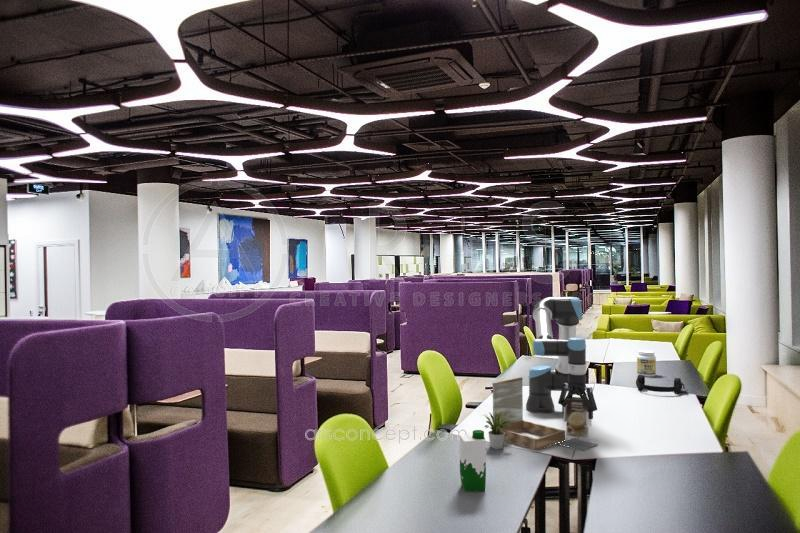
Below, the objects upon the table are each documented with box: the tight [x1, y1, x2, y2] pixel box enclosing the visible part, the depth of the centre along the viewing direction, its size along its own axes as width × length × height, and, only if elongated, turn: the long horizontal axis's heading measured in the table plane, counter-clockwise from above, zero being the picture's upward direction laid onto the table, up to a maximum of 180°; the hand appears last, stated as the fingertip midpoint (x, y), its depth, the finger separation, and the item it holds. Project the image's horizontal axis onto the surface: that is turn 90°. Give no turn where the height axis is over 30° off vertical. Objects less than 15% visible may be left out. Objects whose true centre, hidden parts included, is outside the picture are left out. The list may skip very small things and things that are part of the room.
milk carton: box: [459, 429, 487, 493], centre depth 206 cm, size 9×9×20 cm
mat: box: [557, 437, 598, 452], centre depth 254 cm, size 12×12×1 cm
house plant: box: [482, 411, 515, 450], centre depth 251 cm, size 14×14×16 cm
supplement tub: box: [636, 350, 657, 378], centre depth 407 cm, size 12×12×17 cm
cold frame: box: [492, 376, 566, 451], centre depth 263 cm, size 25×20×25 cm
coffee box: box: [565, 396, 589, 439], centre depth 254 cm, size 9×6×16 cm
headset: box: [635, 374, 686, 394], centre depth 358 cm, size 28×26×9 cm
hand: (577, 423), depth 254 cm, fingers closed on coffee box, 11 cm apart
